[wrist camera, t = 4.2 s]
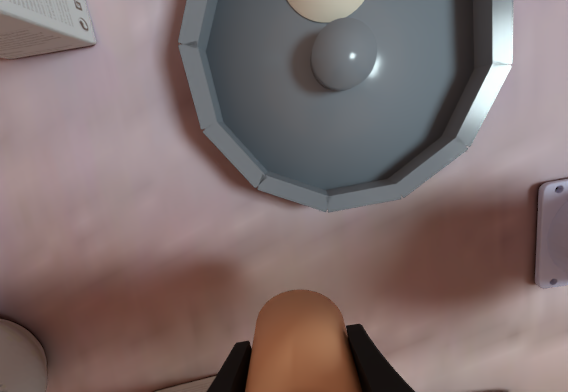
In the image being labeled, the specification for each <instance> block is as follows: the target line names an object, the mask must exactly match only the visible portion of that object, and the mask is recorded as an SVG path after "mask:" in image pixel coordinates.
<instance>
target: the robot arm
mask: <svg viewBox="0 0 568 392" xmlns="http://www.w3.org/2000/svg"><path fill="white" fill-rule="evenodd" d="M557 186H558V189H557V190H556V191H555V189H556V187H557ZM535 284H536V285H537V286H539V287H540V288H552V287H558V286H565V285H568V179H563V180H557V181H552V182H547V183H544V184H543V185H541V187H540V188H539V197H538V221H537V244H536V268H535ZM346 329H347V335H348V340H349V344H350V347H351V351H352V355H353V359H354V362H355V366H356V370H357V373H358V377H359V381H360V385H361V388H362V392H415V391H414V390H413V389H412V388H411V387H410V386H409V385H408V384H407V383H406V382H405V381H404V380H403V379H402V377H401V376H400V375H399V374H398V373H397V372H396V371H395V370H394V368H393V367H392V366H391V365H390V364H389V362H388V361H387V360H386V359H385V358H384V356H383V355H382V354H381V353H380V351H379V350H378V349H377V347H376V346H375V345H374V343H373V342H372V340H371V339H370V337H369V336H368V334H367V333H366V331H365V329H364V328H363V326H362V325H361V324H355V325H348V326H346ZM251 352H252V349H251V345H250V342H249V341H244V342H238V343H236V344H235V345H234V347H233V349H232V350H231V352H230V354H229V356H228V357H227V359H226V361H225V362H224V364H223V366H222V368H221V369H220V371H219V372H218V374H217V376H216V377H215V379H214V380H213V382H212V384H211V385H210V387H209V388H208V390H207V391H206V392H245V388H246V382H247V376H248V370H249V364H250V358H251Z"/></svg>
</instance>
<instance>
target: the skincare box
mask: <svg viewBox="0 0 568 392" xmlns="http://www.w3.org/2000/svg"><path fill="white" fill-rule="evenodd" d="M95 44H96V39H95V35H94V31H93V27H92V23H91V19H90V16H89V13H88V9H87V6H86V2H85V0H0V58H6V59H15V58H20V57H26V56H32V55H38V54H44V53H50V52H55V51H61V50H67V49H73V48H79V47H85V46H90V45H95Z"/></svg>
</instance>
